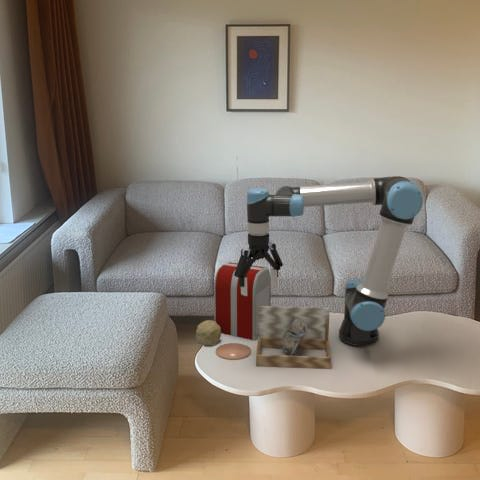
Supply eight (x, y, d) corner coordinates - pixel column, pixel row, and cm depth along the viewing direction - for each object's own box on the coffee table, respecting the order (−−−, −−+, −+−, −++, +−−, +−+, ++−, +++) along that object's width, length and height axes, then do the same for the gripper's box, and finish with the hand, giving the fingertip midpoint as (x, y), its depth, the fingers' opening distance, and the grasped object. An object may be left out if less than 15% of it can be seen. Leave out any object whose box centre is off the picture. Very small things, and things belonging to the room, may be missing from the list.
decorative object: (208, 355, 248) (224, 336, 245) (187, 339, 248) (202, 319, 245) (213, 347, 257) (228, 328, 254) (193, 330, 257) (208, 312, 254)
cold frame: (328, 348, 247) (329, 308, 242) (330, 368, 230) (332, 326, 226) (258, 345, 249) (258, 306, 244) (256, 366, 232) (256, 323, 228)
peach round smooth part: (252, 345, 249) (252, 343, 249) (249, 360, 237) (249, 358, 237) (217, 344, 250) (217, 342, 250) (213, 359, 238) (213, 357, 238)
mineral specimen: (296, 318, 246) (292, 314, 243) (314, 327, 241) (310, 323, 238) (275, 352, 242) (271, 348, 239) (293, 361, 237) (289, 357, 234)
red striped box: (254, 342, 252) (254, 275, 245) (213, 334, 259) (212, 269, 252) (271, 327, 266) (272, 263, 259) (231, 319, 273) (231, 257, 266)
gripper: (278, 225, 240) (279, 280, 245) (223, 237, 225) (224, 295, 231) (292, 229, 234) (292, 285, 240) (236, 241, 220) (237, 301, 225)
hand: (259, 290), depth 235 cm, fingers open, 13 cm apart
